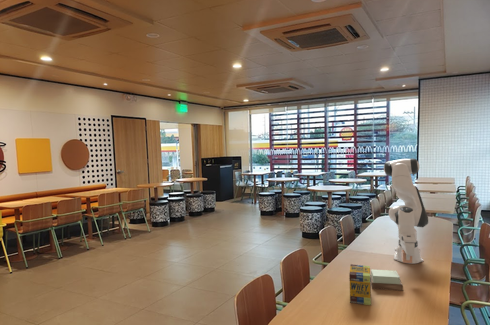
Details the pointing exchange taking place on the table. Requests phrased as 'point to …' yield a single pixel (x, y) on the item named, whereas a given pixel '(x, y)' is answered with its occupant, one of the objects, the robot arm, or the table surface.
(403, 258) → the block
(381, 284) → the tower base
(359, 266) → the protein box
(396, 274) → the tower top
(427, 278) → the table surface
